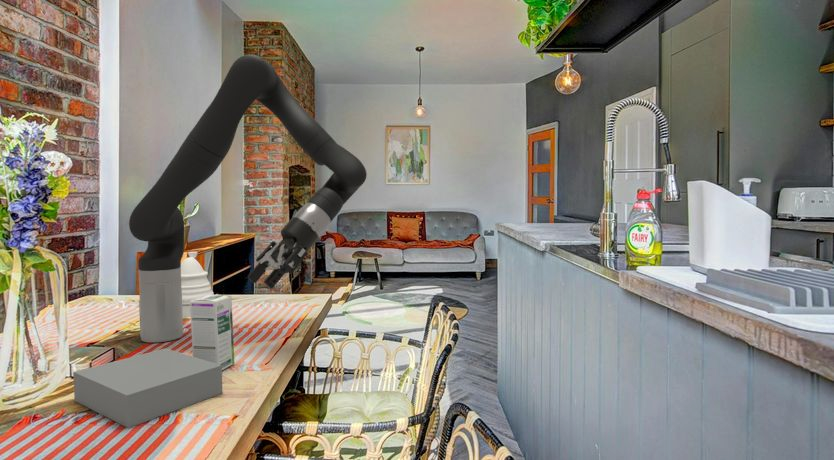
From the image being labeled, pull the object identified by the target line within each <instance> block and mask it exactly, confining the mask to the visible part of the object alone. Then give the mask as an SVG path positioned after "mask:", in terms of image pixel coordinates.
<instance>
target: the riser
mask: <svg viewBox="0 0 834 460" xmlns="http://www.w3.org/2000/svg"><path fill="white" fill-rule="evenodd" d="M72 373H73V392H74V393H73V395H74V397H73V398H74V402H76V403H78V404H80V405H82V406H84V407H86V408H88V409H90V410H92V411H94V412H95V413H98V414H100V415H102V416H103V417H106V418H107V419H110V420H111V421H114V422H115V423H118V424H119V425H121V426H123V427H125V428H127V429H129V428H130V429H131V428H132V427H135V426H138V425H140V424H143V423H146V422H147V421H152V420H153V419H157V418H159V417H162V416H165V415H167V414H170V413H173V412H175V411H178V410H181V409H184V408H186V407H188V406H192V405H195V404H197V403H199V402H203V401H205V400H208V399H211V398H214V397H216V396H218V395H222V394H224V393H223V370H222V365H219V364H216V363H212V362H209V361H206V360H203V359H199V358H196V357H193V355H189V354H186V353H183V352H179V351H176V350H173V349H170V348H166V347H165V348H162V349H157V350H154V351H150V352H147V353H142V354H139V355H134V356H131V357H126V358H122V359H118V360H115V361H114V360H113V361H110V362H107V363H103V364H99V365H94V366H91V367H87V368H83V369H81V370H80V369H78V370H76V371H73V372H72ZM158 416H159V417H158ZM156 417H157V418H156Z"/></svg>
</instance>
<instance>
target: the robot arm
mask: <svg viewBox="0 0 834 460" xmlns="http://www.w3.org/2000/svg"><path fill="white" fill-rule="evenodd" d="M219 87H220V88H219V89H218V90H217V93H216V95H215V97H214V98H213V100H212V101H211V103H210V104H209V105H208V106H207V108H206V109H205V110H204V112H203V114H202V115H201V117H200V118H199V119H198V120H197V122H196V124H195V125H194V126H193V128H192V129H191V130H190V132H189V133H188V135H187V136H186V138H185V139H184V141H183V142H182V144H181V145H180V147H179V149H178V150H177V152H176V154H175V155H174V156H173V158H172V160H170V162H169V164H167V167H166V168H165V169H164V171H163V172H162V174H161V175H160V176H159V178H158V180H157V181H156V182H155V184H154V185H153V186H152V187H151V189H150V190H149V191H148V192H147V193H146V194H145V195H144V197H143V198H142V199H141V200H140V201H139V202H138V203H137V205H136V206H135V207H134V208H133V210H132V212H131V214H130V217H129V221H128V225H129V226H128V227H129V231H130V233H131V235H132V236H133V237H134V238H135V239H137V240H139V241H141V242H147V248H146V250H145V251H144V253H142V255H140V257H139V258H138V261H137V263H138V265H137V268H138V269H137V270H138V286H139V287H138V288H139V289H138V290H139V291H138V292H139V300H138V309H139V310H138V312H139V331H140V334H139V337H140V340H141V341H142V342H144V343H162V342H163V343H164V342H170V341H174V340H177V339H180V338H182V337H184V325H183V324H184V321H183V318H184V317H183V315H182V286H181V263H182V259H183V256H184V253H185V252H184V251H185V220H184V216H183V214H182V211H181V210H180V208H179V206H180V204H182V202H183V201H184V199H186V198H187V196H189V194H191V193H192V192H193V191H194V190H196V189H197V188H199V186H201V185H202V184H203V183H205V181H207V180H208V179H209V178H210V177H212V175H213V174H214V173H215V172H216V171H217V170H218V168H219V167H220V165H221V164H222V162H223V161H224V159H225V157H227V155H228V154H229V152H230V149H231V147H232V145H233V142H234V139H235V136H236V133H237V129H238V127H239V125H240V122H241V120H242V118H243V117H244V115H245V114H246V112H247V111H248V110H249V108H250V107H251V106H252V104H253V103H254V102H255V101H257V102H259V103H260V104H261V105H263V107H265V108H267V109H268V110H269V111H270V112H271V113H272V114H273V115H274V116H275V117H276V118H277V119H278V120H279V121H280V122H281V123H282V125H283V126H284V127H285V129H286V130H287V131H288V133H289V134H290V136H291V137H292V139H293V140H294V141H295V142H296V144H297V145H298V146H299V147H300V148H301V149H302V150H303V152H304V153H305V154H306V155H307V156H308V157H309V158H310V159H311V161H313V162H314V163H315V164H316V165H318V166H325V167H327V169H329V170H330V171H332V174H331V175H330V177H329V178H328V180H327V181H326V182H325V183H324V184H323V186H322V187H321V188H319V189H318V190H317V191H316V192H315V193H314V194H313V195H312V196H311V197H310V198H309V199H308V201H307V202H306V203H305V204H304V205H302V207H300V208H299V209H298V210H297V212H296V213H295V214H294V215H293V216H292V218H290V220H289V221H288V222H287V223H286V224H285V226H283V228H282V229H281V230H280V236H281V237H282V240H281V241H279V242H278V243H277V242H276V241H275V240H273V241H271V242H270V243H269V245H267V247H266V248H265V249H264V250H263V251H262V252H261V253H260V254H259V255H258V257H257V258H256V259H255V261H256V262H257V265H256V266H254V268H253V269H252V270H251V271H250V273H249V274H247V279H248V280H249V281H250V282H251V283H253V284H255V283H257V282H258V281H259V280H260V278H261V277H262V276H263V275H264V274H265V273H266V271H267V270H269V269H271V267H275V268H274V269H273V270H272V271H271V272H270V273H269V274H268V276H267V277H266V278H265V279H264V281H263V283H264V285H265V286H267V287H268V288H269V289H273V288H274V287H275V286H276V285H277V283H278V282H279V281H280V280H281V279H282V278H283V277H284V276H286V275H287V274H289V275H292V274H294V272H295V270H296V269H297V268H298V267H299V265H300V264H301V263H302V262H303V260H304V259H305V258H306V256H308V252H309V251H310V249H311V248H312V247H313V246H314V245H315V244H316V242H317V241H318V240H319V239H320V238H321V236H322V235H323V234H324V233H325V232H326V230H327V228H328V227H329V226H330V224H331V223H332V221H333V220H334V219H335V218H336V216H338V214H339V213H340V211H341V210H342V208H343V206H344V205H345V204H346V203H347V201H349V200H350V198H351V197H352V196H353V195H354V194H355V193H356V192H357V191H358V189H360V187H361V186H362V185H363V184H364V183H365V182H366V179H367V175H368V174H367V170H366V168H365V166H364V164H363V163H362V161H361V160H360V159H359V158H358V157H357V156H355V155H354V154H353V153H351V151H349V150H347V149H346V148H345V147H343V146H342V145H340V144H338V143H337V142H336V141H335V139H334V138H333V137H332V136H331V135H330V134H329V133H328V131H327V130H325V128H323V127H322V125H321V124H320V123H319V122H318V121H317V120H316V119H315V118H314V117H313V116H312V115H310V113H309V112H308V111H306V109H305V108H303V106H301V105H302V104H301V103H299V102H298V100H297V99H296V98H295V97H294V96H293V95H292V94H291V91H289V90H288V89H289V88H288V87H287V86H286V85H285V83H284V82H283V80H282V79H281V77H280V76H279V74H278V73H277V72H276V69H275V68H274V66H273V65H272V64H271V63H269V62H268V61H267V60H265V59H264V58H262V57H261V56H259V55H256V54H252V53H251V54H250V53H249V54H244V55H241V56H240V57H238V58H237V59H236V60H234V62H233V63H232V64H231V66H230V68H229V70H228V72H227V73H226V76H225V77H224V79H223V81H222V83H221V85H220V86H219Z"/></svg>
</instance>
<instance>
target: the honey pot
mask: <svg viewBox="0 0 834 460" xmlns="http://www.w3.org/2000/svg"><path fill="white" fill-rule="evenodd" d="M187 254H188V256H189V257H186V258H185V259H184V260H183V261H181V286H182V315H183V318H191V310H190V301H192V300H196V299H199V298H202V297H205V296H207V295H215V294H214V291H213V290H212V286H211V282H210V281H209V280H208V277H207V276H208V274H209V272H208V271H205V270H204V269H203V267H202V265H201V264H200V262H199V261H198V260H197V259H196V257H197V256H198V251H188V253H187Z"/></svg>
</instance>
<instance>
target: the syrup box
mask: <svg viewBox="0 0 834 460" xmlns="http://www.w3.org/2000/svg"><path fill="white" fill-rule="evenodd" d="M232 300H233V299H232V296H231V295H227V294H214V295H207V296H205V297H202V298H199V299H196V300H192V301H190V310H191V317H190V328H191V346H192V347H191V348H192V349H191V350H192V356H193V357H196V358H199V359H203V360H206V361H209V362H212V363H216V364H219V365H222V371H223V370H225V369H227V368H229V367H231V366H233V365H234V364H235V346H234V324H233V323H234V322H233V301H232Z"/></svg>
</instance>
